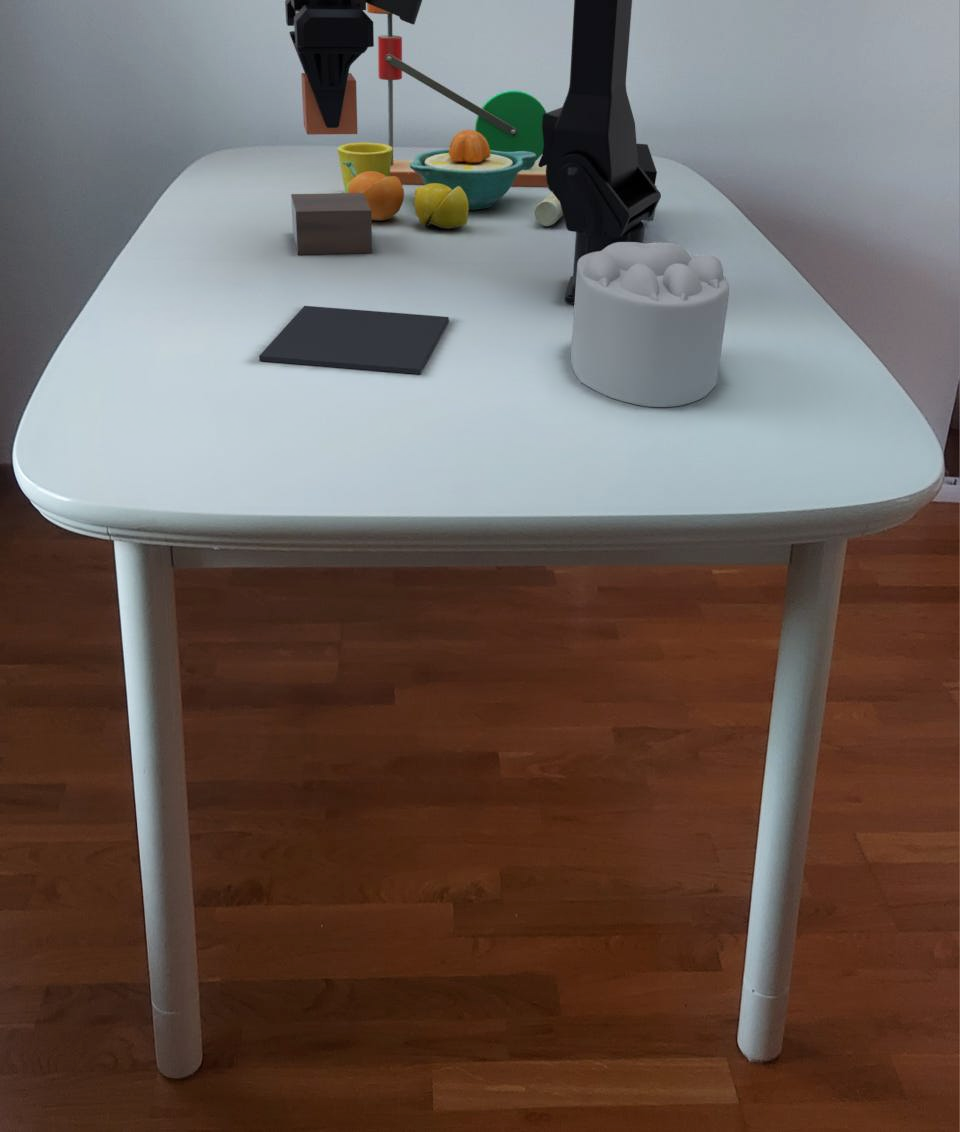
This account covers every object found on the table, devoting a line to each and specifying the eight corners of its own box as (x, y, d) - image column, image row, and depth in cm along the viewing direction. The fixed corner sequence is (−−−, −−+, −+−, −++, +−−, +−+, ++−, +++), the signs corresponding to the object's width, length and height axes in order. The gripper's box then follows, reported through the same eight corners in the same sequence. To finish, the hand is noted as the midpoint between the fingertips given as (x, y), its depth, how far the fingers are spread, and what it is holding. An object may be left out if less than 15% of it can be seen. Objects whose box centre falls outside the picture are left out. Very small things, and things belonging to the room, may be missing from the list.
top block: (357, 134, 105) (356, 80, 103) (306, 134, 104) (304, 80, 102) (352, 125, 109) (351, 73, 106) (303, 125, 108) (301, 72, 106)
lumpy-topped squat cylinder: (694, 343, 92) (709, 232, 88) (735, 407, 81) (754, 283, 77) (563, 342, 92) (571, 230, 87) (586, 406, 80) (596, 282, 76)
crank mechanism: (359, 183, 137) (356, 0, 127) (361, 170, 142) (358, -6, 132) (573, 187, 138) (585, 6, 128) (566, 174, 144) (578, 0, 134)
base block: (372, 253, 111) (371, 210, 109) (297, 254, 110) (295, 211, 108) (363, 233, 117) (362, 192, 115) (293, 235, 116) (290, 194, 114)
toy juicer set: (330, 232, 118) (327, 151, 114) (340, 189, 133) (338, 117, 129) (614, 236, 119) (621, 157, 115) (591, 194, 135) (596, 123, 131)
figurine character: (656, 257, 118) (642, 205, 130) (666, 182, 114) (650, 135, 126) (590, 255, 118) (582, 203, 130) (596, 180, 114) (587, 133, 126)
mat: (420, 374, 85) (420, 369, 84) (259, 360, 86) (258, 355, 86) (448, 321, 95) (448, 316, 95) (304, 310, 96) (304, 305, 96)
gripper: (436, -67, 92) (434, 141, 100) (403, -76, 108) (404, 105, 115) (292, -71, 90) (302, 143, 98) (280, -79, 106) (290, 105, 113)
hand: (330, 122), depth 106 cm, fingers closed on top block, 4 cm apart
